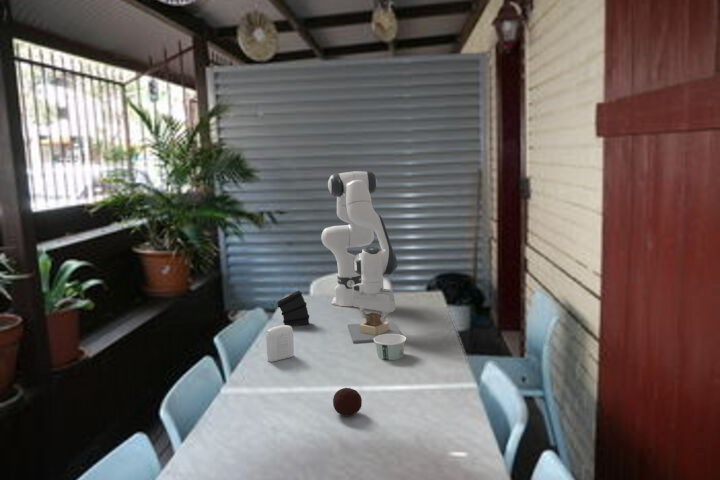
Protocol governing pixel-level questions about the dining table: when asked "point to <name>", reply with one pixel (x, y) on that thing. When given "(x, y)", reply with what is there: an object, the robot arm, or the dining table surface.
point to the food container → (390, 346)
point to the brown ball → (347, 401)
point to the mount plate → (368, 336)
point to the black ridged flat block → (294, 310)
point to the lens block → (373, 319)
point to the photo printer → (279, 343)
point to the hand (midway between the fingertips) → (373, 319)
